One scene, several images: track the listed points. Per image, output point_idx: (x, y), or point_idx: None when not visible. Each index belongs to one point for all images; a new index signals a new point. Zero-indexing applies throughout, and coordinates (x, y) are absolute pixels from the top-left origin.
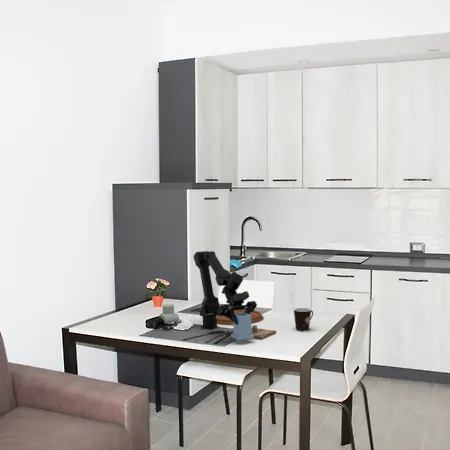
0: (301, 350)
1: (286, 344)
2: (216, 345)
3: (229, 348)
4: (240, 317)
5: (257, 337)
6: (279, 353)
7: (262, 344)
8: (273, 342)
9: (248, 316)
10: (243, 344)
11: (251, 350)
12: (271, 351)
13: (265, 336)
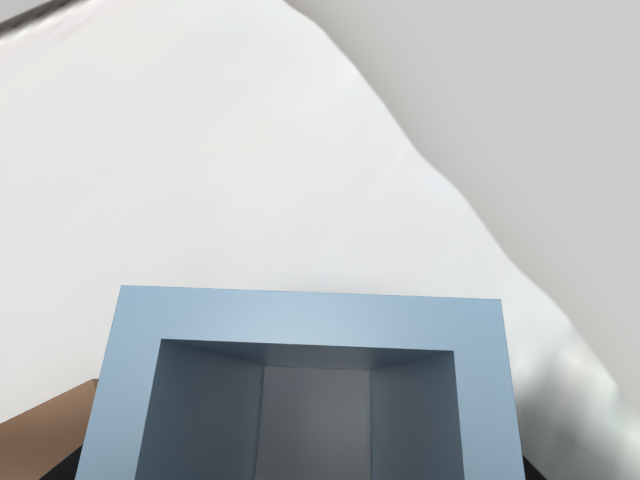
0: (123, 9)
1: (78, 147)
2: (615, 457)
3: (528, 288)
4: (470, 304)
5: None
6: (274, 24)
7: (220, 241)
8: (105, 243)
9: (220, 293)
10: None
11: (392, 153)
12: (287, 73)
13: (26, 414)
